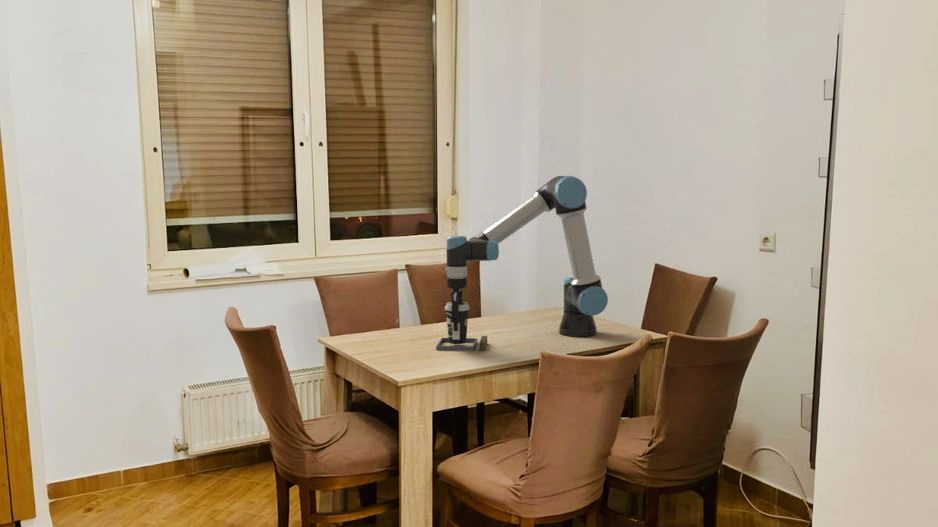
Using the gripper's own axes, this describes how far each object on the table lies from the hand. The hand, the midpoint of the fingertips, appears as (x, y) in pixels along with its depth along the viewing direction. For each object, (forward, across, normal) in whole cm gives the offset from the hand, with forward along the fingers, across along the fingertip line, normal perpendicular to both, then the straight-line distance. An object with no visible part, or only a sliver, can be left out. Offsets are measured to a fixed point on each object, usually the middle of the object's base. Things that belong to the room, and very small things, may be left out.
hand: (457, 336), depth 295 cm
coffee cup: (+2, 0, 0) cm, 2 cm away
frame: (+3, 0, 0) cm, 3 cm away
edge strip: (+3, +1, +10) cm, 11 cm away
